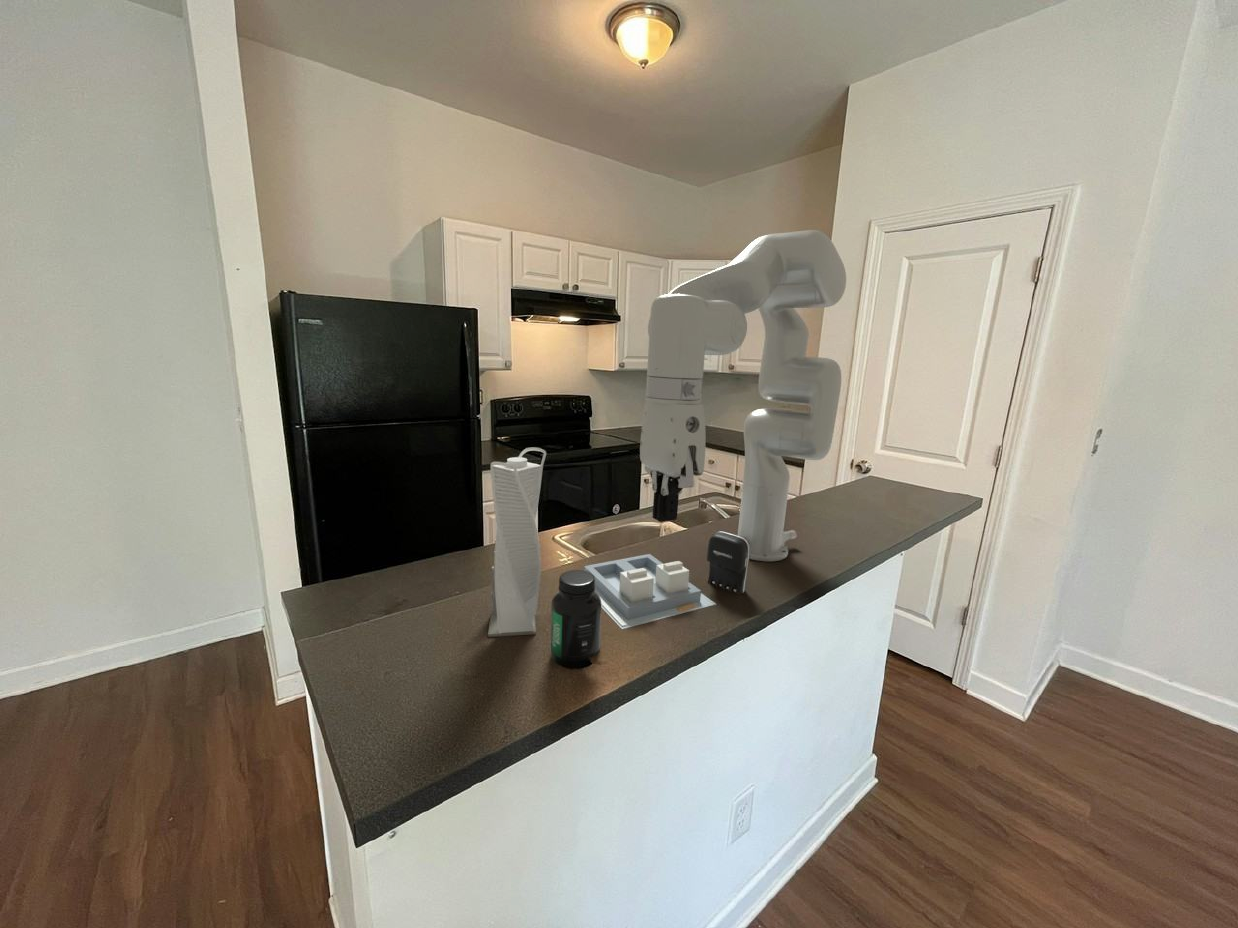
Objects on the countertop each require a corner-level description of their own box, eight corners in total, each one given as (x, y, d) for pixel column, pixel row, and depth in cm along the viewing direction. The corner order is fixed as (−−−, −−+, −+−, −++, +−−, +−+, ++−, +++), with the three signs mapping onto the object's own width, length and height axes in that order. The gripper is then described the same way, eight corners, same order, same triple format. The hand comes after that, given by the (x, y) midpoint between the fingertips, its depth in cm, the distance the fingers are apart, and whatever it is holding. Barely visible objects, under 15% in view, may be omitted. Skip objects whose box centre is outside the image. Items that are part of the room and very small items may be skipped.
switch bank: (652, 564, 98) (653, 548, 98) (715, 612, 81) (717, 593, 81) (570, 581, 90) (570, 564, 89) (621, 637, 73) (622, 616, 72)
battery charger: (700, 592, 88) (705, 533, 85) (711, 585, 91) (716, 528, 88) (735, 606, 84) (742, 544, 81) (745, 598, 86) (752, 538, 84)
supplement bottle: (552, 673, 64) (553, 590, 62) (549, 643, 71) (549, 567, 68) (603, 668, 66) (606, 587, 63) (595, 639, 72) (597, 565, 70)
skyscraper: (544, 609, 80) (545, 442, 74) (545, 637, 72) (547, 454, 66) (491, 612, 79) (488, 442, 72) (487, 641, 71) (483, 453, 64)
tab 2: (673, 587, 86) (675, 557, 84) (687, 597, 82) (689, 566, 81) (654, 591, 84) (656, 560, 83) (667, 602, 80) (669, 570, 79)
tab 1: (639, 595, 82) (641, 563, 81) (652, 606, 79) (654, 573, 78) (618, 600, 81) (620, 567, 79) (630, 611, 77) (632, 578, 76)
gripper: (731, 396, 61) (718, 533, 65) (666, 387, 74) (658, 502, 78) (683, 396, 58) (672, 540, 62) (623, 386, 71) (617, 507, 75)
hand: (664, 518), depth 70 cm, fingers closed
